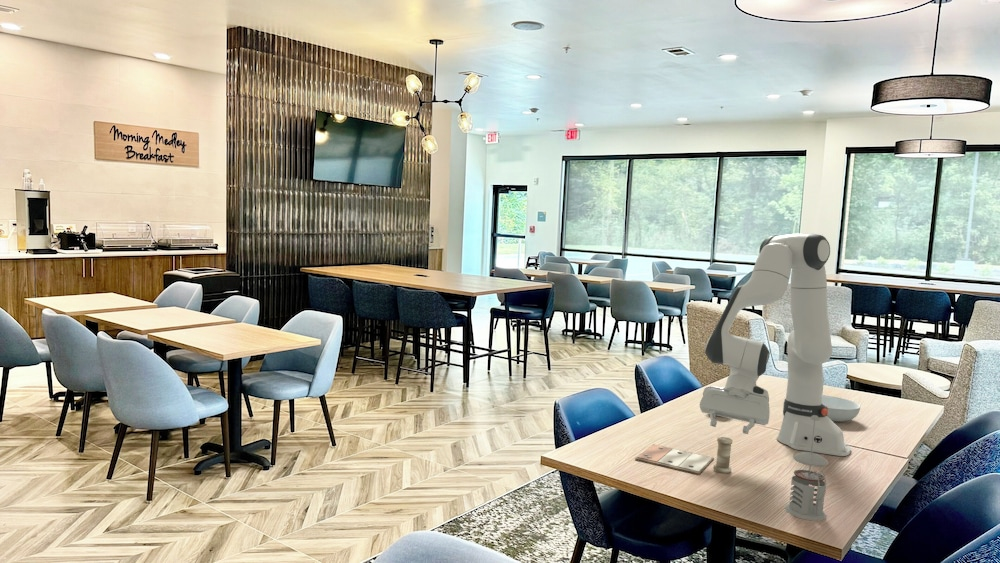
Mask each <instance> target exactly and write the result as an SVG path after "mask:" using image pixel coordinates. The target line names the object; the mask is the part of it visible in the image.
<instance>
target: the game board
mask: <svg viewBox="0 0 1000 563" xmlns="http://www.w3.org/2000/svg"><path fill="white" fill-rule="evenodd" d="M634 459H635V461H638V460H639V462H642V461H643V462H642V463H646V462H647V463H646V464H651V465H655V466H659V467H663V466H664V468H667V467H668V469H673V470H675V471H676V470H677V471H680V472H681V471H682V472H684V471H685V473H688V474H694V475H697V476H700V475H701V473H702V472H704V470H706V468H707V467H708V466H709V465H710V464H711V463H712V462H713V461H714V459H715V457H713V456H710V455H709V456H708V455H704V454H700V453H695V452H690V451H686V450H683V449H682V450H681V449H677V448H673V447H667V446H665V445H664V446H663V445H659V444H652V445H650V446H649V447H648V448H646V449H645V450H644V451H643V452H642V453H639V455H638V456H637V457H635V458H634Z"/></svg>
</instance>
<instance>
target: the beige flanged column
mask: <svg viewBox="0 0 1000 563" xmlns="http://www.w3.org/2000/svg"><path fill="white" fill-rule="evenodd" d="M716 441H717V451H716V463H714V464H713V469H714V470H713V469H712V470H713V471H715V472H716V473H719V474H724V475H725V474H726V475H727V474H731V473H732V466H730V462H731V460H730V459H731V451H732V445H733V439H732V438H729V437H725V436H719V437H717V438H716Z"/></svg>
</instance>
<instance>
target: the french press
mask: <svg viewBox="0 0 1000 563" xmlns="http://www.w3.org/2000/svg"><path fill="white" fill-rule="evenodd" d="M811 420H814V427H815V421H819V417H818V416H816V415H812V416H811ZM814 427H813V437H814ZM813 437H812V447H811V452H810V451H802V452H797V453H795V454H794V455H793V456H792V458H793V459H794V461H796V462H798V463H800V464H803V465H807V466H809V469H797V470H794V472H793V474H794V475H792V477H791V484H790V486H792V487H791V488H790V491H791V492H790V493H789V494H790V497H789V500H790V501H789V503H788V504H787V505H785V506H784V510H785V511H786V513H788V514H790V515H791V516H793V517H797V518H799V519H803V520H806V521H807V520H808V521H814V522H815V521H824V520H826V519H827V517H828V515H827V514H826V513H825V511H824V502H825V495H826V492H827V491H826V490H827V480H826V476H825V473H824V471H823V470H820V472H817V471H816V470H814V471H813V470H811V466H812V467H826V466H828V464H829V461H828V459H826V458H825V457H824V456H822V455H821V454H820V453H817V452H812V448H813ZM815 487H817V488H815ZM815 492H816V493H815Z"/></svg>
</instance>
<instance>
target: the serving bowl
mask: <svg viewBox="0 0 1000 563" xmlns="http://www.w3.org/2000/svg"><path fill="white" fill-rule="evenodd" d="M822 404H823V405H824V406H827V407H828V414H827V417H828V418H829V419H830V420H832V421H833V422H834V423H840V422H847V421H852V420H854V419H855V418H856V417H857V416H858V414H860V412H861V405H860V404H859V403H857V402H855V401H852V400H849V399H847V398H842V397H838V396H832V395H825V394H822ZM839 421H840V422H839Z"/></svg>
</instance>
